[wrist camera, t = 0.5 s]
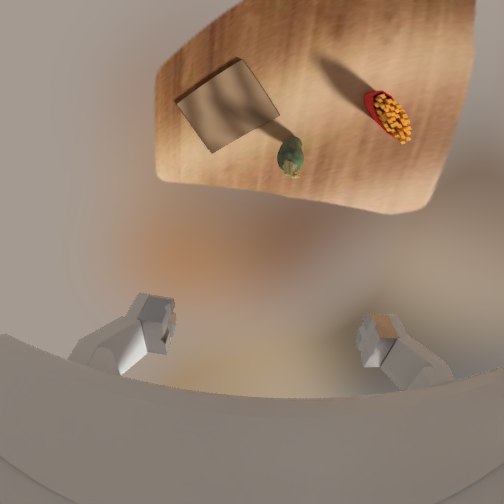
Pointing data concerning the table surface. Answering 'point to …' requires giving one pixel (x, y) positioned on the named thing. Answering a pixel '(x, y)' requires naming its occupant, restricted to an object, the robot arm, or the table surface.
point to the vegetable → (291, 156)
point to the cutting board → (228, 106)
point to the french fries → (388, 114)
